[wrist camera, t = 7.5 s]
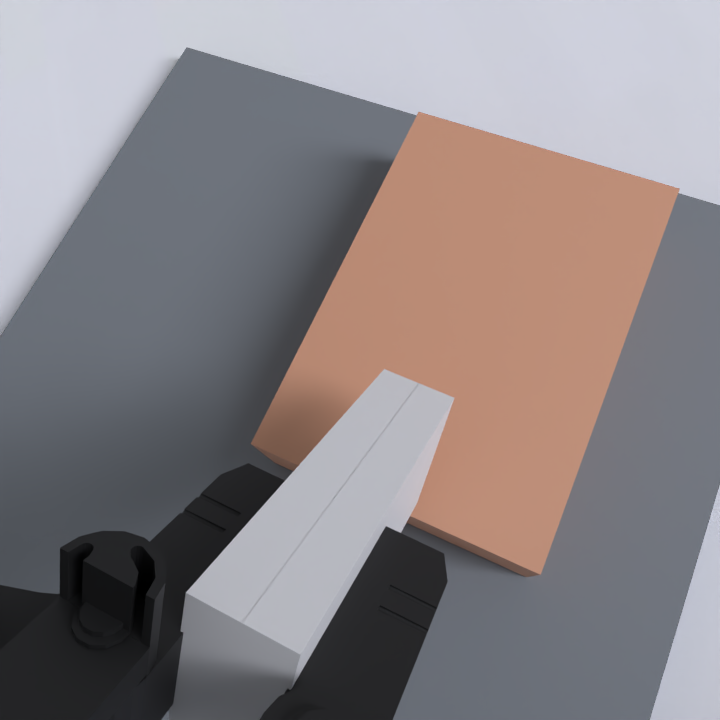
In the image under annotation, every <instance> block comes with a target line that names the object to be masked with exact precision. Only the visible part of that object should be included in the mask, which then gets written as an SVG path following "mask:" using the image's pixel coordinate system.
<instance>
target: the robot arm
mask: <svg viewBox="0 0 720 720" xmlns="http://www.w3.org/2000/svg"><path fill="white" fill-rule="evenodd" d="M453 400H454V397H451V396H449V395H446V394H444V393H442V392H439V391H437V390H434V389H432V388H429V387H427V386H424V385H422V384H420V383H417V382H415V381H412V380H410V379H407V378H405V377H403V376H400V375H398V374H395V373H393V372H390V371H388V370H385V369H384V370H383V371H382V372H381V373H380V374H379V375H378V377H377V378H376V379H375V380H374V381H373V382H372V383H371V384H370V386H369V387H368V388H367V389H366V390H365V391H364V392H363V393H362V395H361V396H360V397H359V398H358V399H357V400H356V401H355V402H354V404H353V405H352V406H351V407H350V408H349V409H348V410H347V412H346V413H345V414H344V415H343V416H342V417H341V418H340V419H339V421H338V422H337V423H336V424H335V425H334V426H333V427H332V428H331V430H330V431H329V432H328V433H327V434H326V435H325V436H324V437H323V439H322V440H321V441H320V442H319V443H318V444H317V445H316V446H315V448H314V449H313V450H312V451H311V452H310V453H309V454H308V456H307V457H306V458H305V459H304V460H303V461H302V462H301V463H300V465H299V466H298V467H297V468H296V469H295V470H294V471H293V472H292V474H291V475H290V476H289V477H288V478H287V479H286V480H283V479H281V478H279V477H277V476H274V475H272V474H270V473H268V472H266V471H264V470H262V469H260V468H258V467H255V466H253V465H251V464H249V463H248V464H245V465H243V466H240V467H238V468H235V469H233V470H230V471H228V472H225V473H223V474H221V475H220V476H219V477H217V478H216V479H215V480H214V481H213V482H212V483H211V484H210V485H209V486H208V487H207V488H206V489H205V490H204V491H203V492H202V493H201V495H200V496H199V498H198V497H196V498H195V499H194V500H193V501H192V502H191V503H190V504H189V505H188V506H187V507H186V508H185V509H184V511H183V513H179V514H178V515H177V516H176V517H175V518H174V519H173V520H172V521H171V522H170V523H169V524H168V525H167V526H166V527H165V528H164V529H162V530H161V531H160V532H159V533H158V534H157V535H156V536H155V537H154V538H153V539H152V540H151V541H150V542H149V541H148V540H147V539H146V538H144V537H141V536H138V535H135V534H132V533H129V532H126V531H99V532H95V533H91V534H87V535H83V536H79V537H78V538H76V539H74V540H72V541H71V542H69V543H67V544H65V545H64V546H62V547H60V594H52V593H41V592H35V591H30V590H25V589H19V588H14V587H9V586H4V585H0V720H161V719H162V718H163V717H164V715H165V714H166V713H167V711H168V710H169V716H168V720H393V718H394V715H395V713H396V710H397V708H398V705H399V703H400V700H401V698H402V695H403V693H404V690H405V688H406V685H407V683H408V680H409V678H410V675H411V673H412V670H413V668H414V665H415V663H416V660H417V658H418V655H419V652H420V650H421V647H422V645H423V642H424V640H425V637H426V635H427V632H428V630H429V627H430V625H431V622H432V620H433V617H434V615H435V612H436V610H437V607H438V605H439V602H440V600H441V597H442V595H443V592H444V590H445V587H446V585H447V582H448V580H447V572H446V564H445V556H444V553H442V552H440V551H438V550H436V549H434V548H432V547H429V546H427V545H425V544H423V543H421V542H419V541H417V540H415V539H412V538H410V537H408V536H406V535H404V534H402V533H401V532H402V530H403V528H404V526H405V524H406V523H407V521H408V519H409V517H410V515H411V513H412V511H413V510H414V508H415V506H416V504H417V502H418V499H419V496H420V493H421V491H422V488H423V485H424V482H425V479H426V477H427V474H428V471H429V468H430V465H431V462H432V460H433V457H434V454H435V451H436V448H437V446H438V443H439V440H440V437H441V434H442V431H443V429H444V426H445V423H446V420H447V417H448V415H449V412H450V409H451V406H452V403H453Z"/></svg>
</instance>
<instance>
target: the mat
mask: <svg viewBox="0 0 720 720" xmlns="http://www.w3.org/2000/svg"><path fill="white" fill-rule="evenodd" d="M415 118H416V115H413V114H409V113H406V112H403V111H399V110H396V109H393V108H389V107H386V106H383V105H379V104H376V103H372V102H369V101H366V100H362V99H359V98H356V97H352V96H349V95H345V94H342V93H339V92H335V91H332V90H329V89H325V88H322V87H318V86H315V85H312V84H308V83H305V82H302V81H298V80H295V79H292V78H288V77H285V76H281V75H278V74H275V73H271V72H268V71H265V70H261V69H258V68H254V67H251V66H248V65H244V64H241V63H238V62H234V61H231V60H227V59H224V58H221V57H217V56H214V55H211V54H207V53H204V52H200V51H197V50H194V49H190V48H186V49H185V51H184V52H183V54H182V56H181V57H180V59H179V60H178V62H177V63H176V65H175V66H174V68H173V69H172V71H171V73H170V74H169V76H168V77H167V79H166V80H165V82H164V83H163V85H162V87H161V88H160V90H159V91H158V93H157V94H156V96H155V97H154V99H153V101H152V102H151V104H150V105H149V107H148V108H147V110H146V111H145V113H144V115H143V116H142V118H141V119H140V121H139V122H138V124H137V125H136V127H135V128H134V130H133V132H132V133H131V135H130V136H129V138H128V139H127V141H126V142H125V144H124V146H123V147H122V149H121V150H120V152H119V153H118V155H117V156H116V158H115V160H114V161H113V163H112V164H111V166H110V167H109V169H108V170H107V172H106V174H105V175H104V177H103V178H102V180H101V181H100V183H99V184H98V186H97V187H96V189H95V191H94V192H93V194H92V195H91V197H90V198H89V200H88V201H87V203H86V205H85V206H84V208H83V209H82V211H81V212H80V214H79V215H78V217H77V219H76V220H75V222H74V223H73V225H72V226H71V228H70V229H69V231H68V233H67V234H66V236H65V237H64V239H63V240H62V242H61V243H60V245H59V247H58V248H57V250H56V251H55V253H54V254H53V256H52V257H51V259H50V260H49V262H48V264H47V265H46V267H45V268H44V270H43V271H42V273H41V274H40V276H39V278H38V279H37V281H36V282H35V284H34V285H33V287H32V288H31V290H30V292H29V293H28V295H27V296H26V298H25V299H24V301H23V302H22V304H21V306H20V307H19V309H18V310H17V312H16V313H15V315H14V316H13V318H12V319H11V321H10V323H9V324H8V326H7V327H6V329H5V330H4V332H3V333H2V335H1V337H0V585H4V586H9V587H14V588H19V589H25V590H30V591H35V592H41V593H52V594H60V547H62V546H64V545H65V544H67V543H69V542H71V541H72V540H74V539H76V538H78V537H79V536H83V535H87V534H91V533H95V532H99V531H126V532H129V533H132V534H135V535H138V536H141V537H144V538H146V539H147V540H148V541H149V542H150V541H151V540H152V539H153V538H154V537H155V536H156V535H157V534H158V533H159V532H160V531H161V530H162V529H164V528H165V527H166V526H167V525H168V524H169V523H170V522H171V521H172V520H173V519H174V518H175V517H176V516H177V515H178V514H179V513H183V511H184V509H185V508H186V507H187V506H188V505H189V504H190V503H191V502H192V501H193V500H194V499H195V498H196V497H198V498H199V496H200V495H201V493H202V492H203V491H204V490H205V489H206V488H207V487H208V486H209V485H210V484H211V483H212V482H213V481H214V480H215V479H216V478H217V477H219V476H220V475H221V474H223V473H225V472H228V471H230V470H233V469H235V468H238V467H240V466H243V465H245V464H248V463H249V464H251V465H253V466H255V467H258V468H260V469H262V470H264V471H266V472H268V473H270V474H272V475H274V476H277V477H279V478H281V479H283V480H286V479H287V478H288V477H289V476H290V475H291V474H292V472H293V471H292V470H289V469H287V468H285V467H283V466H281V465H279V464H276V463H274V462H273V461H272V460H271V459H269V458H268V457H267V456H265V455H264V454H263V453H262V452H260V451H259V450H258V449H257V448H255V447H254V446H253V445H252V444H251V442H252V440H253V438H254V436H255V434H256V432H257V430H258V428H259V427H260V425H261V423H262V421H263V419H264V417H265V415H266V413H267V411H268V409H269V407H270V405H271V403H272V401H273V399H274V397H275V395H276V393H277V391H278V389H279V387H280V385H281V383H282V381H283V379H284V377H285V375H286V373H287V371H288V369H289V367H290V365H291V363H292V361H293V359H294V357H295V355H296V353H297V351H298V349H299V347H300V345H301V343H302V342H303V340H304V338H305V336H306V334H307V332H308V330H309V328H310V326H311V324H312V322H313V320H314V318H315V316H316V314H317V312H318V310H319V308H320V306H321V304H322V302H323V300H324V298H325V296H326V294H327V292H328V290H329V288H330V286H331V284H332V282H333V280H334V278H335V276H336V274H337V272H338V270H339V268H340V266H341V264H342V262H343V260H344V259H345V257H346V255H347V253H348V251H349V249H350V247H351V245H352V243H353V241H354V239H355V237H356V235H357V233H358V231H359V229H360V227H361V225H362V223H363V221H364V219H365V217H366V215H367V213H368V211H369V209H370V207H371V205H372V203H373V201H374V199H375V197H376V195H377V193H378V191H379V189H380V187H381V185H382V183H383V181H384V179H385V177H386V175H387V174H388V172H389V170H390V168H391V166H392V164H393V162H394V160H395V158H396V156H397V154H398V152H399V150H400V148H401V146H402V144H403V142H404V140H405V138H406V136H407V134H408V132H409V130H410V128H411V126H412V124H413V122H414V120H415ZM719 485H720V205H716V204H713V203H709V202H706V201H703V200H699V199H696V198H693V197H689V196H686V195H682V194H679V193H678V195H677V198H676V200H675V203H674V206H673V209H672V212H671V214H670V217H669V220H668V223H667V225H666V228H665V231H664V234H663V237H662V239H661V242H660V245H659V248H658V250H657V253H656V256H655V259H654V262H653V264H652V267H651V270H650V273H649V275H648V278H647V281H646V284H645V287H644V289H643V292H642V295H641V298H640V300H639V303H638V306H637V309H636V311H635V314H634V317H633V320H632V323H631V325H630V328H629V331H628V334H627V336H626V339H625V342H624V345H623V348H622V350H621V353H620V356H619V359H618V361H617V364H616V367H615V370H614V373H613V375H612V378H611V381H610V384H609V386H608V389H607V392H606V395H605V398H604V400H603V403H602V406H601V409H600V411H599V414H598V417H597V420H596V423H595V425H594V428H593V431H592V434H591V436H590V439H589V442H588V445H587V448H586V450H585V453H584V456H583V459H582V461H581V464H580V467H579V470H578V473H577V475H576V478H575V481H574V484H573V486H572V489H571V492H570V495H569V498H568V500H567V503H566V506H565V509H564V511H563V514H562V517H561V520H560V523H559V525H558V528H557V531H556V534H555V536H554V539H553V542H552V545H551V548H550V550H549V553H548V556H547V559H546V561H545V564H544V567H543V570H542V573H541V575H537V576H531V577H525V576H522V575H520V574H518V573H516V572H514V571H511V570H509V569H507V568H505V567H503V566H500V565H498V564H496V563H494V562H492V561H489V560H487V559H485V558H483V557H481V556H478V555H476V554H474V553H472V552H470V551H467V550H465V549H463V548H461V547H459V546H456V545H454V544H452V543H450V542H448V541H446V540H443V539H441V538H439V537H437V536H435V535H432V534H430V533H428V532H426V531H424V530H421V529H419V528H417V527H415V526H413V525H410V524H408V523H406V524H405V526H404V528H403V530H402V532H401V533H402V534H404V535H406V536H408V537H410V538H412V539H415V540H417V541H419V542H421V543H423V544H425V545H427V546H429V547H432V548H434V549H436V550H438V551H440V552H442V553H444V556H445V564H446V572H447V580H448V582H447V585H446V587H445V590H444V592H443V595H442V597H441V600H440V602H439V605H438V607H437V610H436V612H435V615H434V617H433V620H432V622H431V625H430V627H429V630H428V632H427V635H426V637H425V640H424V642H423V645H422V647H421V650H420V652H419V655H418V658H417V660H416V663H415V665H414V668H413V670H412V673H411V675H410V678H409V680H408V683H407V685H406V688H405V690H404V693H403V695H402V698H401V700H400V703H399V705H398V708H397V710H396V713H395V715H394V718H393V720H650V717H651V713H652V710H653V707H654V703H655V700H656V696H657V693H658V690H659V686H660V683H661V680H662V676H663V673H664V670H665V666H666V663H667V660H668V656H669V653H670V649H671V646H672V643H673V639H674V636H675V633H676V629H677V626H678V623H679V619H680V616H681V613H682V609H683V606H684V602H685V599H686V596H687V592H688V589H689V586H690V582H691V579H692V576H693V572H694V569H695V566H696V562H697V559H698V555H699V552H700V549H701V545H702V542H703V539H704V535H705V532H706V529H707V525H708V522H709V519H710V515H711V512H712V508H713V505H714V502H715V498H716V495H717V492H718V488H719ZM168 716H169V710H168V711H167V713H166V714H165V715H164V717H163V718H162V719H161V720H168Z"/></svg>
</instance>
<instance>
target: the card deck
mask: <svg viewBox="0 0 720 720" xmlns="http://www.w3.org/2000/svg"><path fill="white" fill-rule="evenodd" d="M678 192H679V188H675V187H672V186H668V185H665V184H662V183H658V182H655V181H652V180H648V179H645V178H641V177H638V176H635V175H631V174H628V173H624V172H621V171H618V170H614V169H611V168H607V167H604V166H601V165H597V164H594V163H591V162H587V161H584V160H580V159H577V158H574V157H570V156H567V155H563V154H560V153H557V152H553V151H550V150H546V149H543V148H540V147H536V146H533V145H529V144H526V143H523V142H519V141H516V140H513V139H509V138H506V137H502V136H499V135H496V134H492V133H489V132H485V131H482V130H479V129H475V128H472V127H468V126H465V125H462V124H458V123H455V122H452V121H448V120H445V119H441V118H438V117H435V116H431V115H428V114H424V113H421V112H418V114H417V116H416V118H415V120H414V122H413V124H412V126H411V128H410V130H409V132H408V134H407V136H406V138H405V140H404V142H403V144H402V146H401V148H400V150H399V152H398V154H397V156H396V158H395V160H394V162H393V164H392V166H391V168H390V170H389V172H388V174H387V175H386V177H385V179H384V181H383V183H382V185H381V187H380V189H379V191H378V193H377V195H376V197H375V199H374V201H373V203H372V205H371V207H370V209H369V211H368V213H367V215H366V217H365V219H364V221H363V223H362V225H361V227H360V229H359V231H358V233H357V235H356V237H355V239H354V241H353V243H352V245H351V247H350V249H349V251H348V253H347V255H346V257H345V259H344V260H343V262H342V264H341V266H340V268H339V270H338V272H337V274H336V276H335V278H334V280H333V282H332V284H331V286H330V288H329V290H328V292H327V294H326V296H325V298H324V300H323V302H322V304H321V306H320V308H319V310H318V312H317V314H316V316H315V318H314V320H313V322H312V324H311V326H310V328H309V330H308V332H307V334H306V336H305V338H304V340H303V342H302V343H301V345H300V347H299V349H298V351H297V353H296V355H295V357H294V359H293V361H292V363H291V365H290V367H289V369H288V371H287V373H286V375H285V377H284V379H283V381H282V383H281V385H280V387H279V389H278V391H277V393H276V395H275V397H274V399H273V401H272V403H271V405H270V407H269V409H268V411H267V413H266V415H265V417H264V419H263V421H262V423H261V425H260V427H259V428H258V430H257V432H256V434H255V436H254V438H253V440H252V442H251V444H252V445H253V446H254V447H255V448H257V449H258V450H259V451H260V452H262V453H263V454H264V455H265V456H267V457H268V458H269V459H271V460H272V461H273V462H274V463H276V464H279V465H281V466H283V467H285V468H287V469H289V470H292V471H294V470H295V469H296V468H297V467H298V466H299V465H300V463H301V462H302V461H303V460H304V459H305V458H306V457H307V456H308V454H309V453H310V452H311V451H312V450H313V449H314V448H315V446H316V445H317V444H318V443H319V442H320V441H321V440H322V439H323V437H324V436H325V435H326V434H327V433H328V432H329V431H330V430H331V428H332V427H333V426H334V425H335V424H336V423H337V422H338V421H339V419H340V418H341V417H342V416H343V415H344V414H345V413H346V412H347V410H348V409H349V408H350V407H351V406H352V405H353V404H354V402H355V401H356V400H357V399H358V398H359V397H360V396H361V395H362V393H363V392H364V391H365V390H366V389H367V388H368V387H369V386H370V384H371V383H372V382H373V381H374V380H375V379H376V378H377V377H378V375H379V374H380V373H381V372H382V371H383V370H384V369H385V370H388V371H390V372H393V373H395V374H398V375H400V376H403V377H405V378H407V379H410V380H412V381H415V382H417V383H420V384H422V385H424V386H427V387H429V388H432V389H434V390H437V391H439V392H442V393H444V394H446V395H449V396H451V397H454V400H453V403H452V406H451V409H450V412H449V415H448V417H447V420H446V423H445V426H444V429H443V431H442V434H441V437H440V440H439V443H438V446H437V448H436V451H435V454H434V457H433V460H432V462H431V465H430V468H429V471H428V474H427V477H426V479H425V482H424V485H423V488H422V491H421V493H420V496H419V499H418V502H417V504H416V506H415V508H414V510H413V511H412V513H411V515H410V517H409V519H408V521H407V523H408V524H410V525H413V526H415V527H417V528H419V529H421V530H424V531H426V532H428V533H430V534H432V535H435V536H437V537H439V538H441V539H443V540H446V541H448V542H450V543H452V544H454V545H456V546H459V547H461V548H463V549H465V550H467V551H470V552H472V553H474V554H476V555H478V556H481V557H483V558H485V559H487V560H489V561H492V562H494V563H496V564H498V565H500V566H503V567H505V568H507V569H509V570H511V571H514V572H516V573H518V574H520V575H522V576H525V577H531V576H537V575H541V573H542V570H543V567H544V564H545V561H546V559H547V556H548V553H549V550H550V548H551V545H552V542H553V539H554V536H555V534H556V531H557V528H558V525H559V523H560V520H561V517H562V514H563V511H564V509H565V506H566V503H567V500H568V498H569V495H570V492H571V489H572V486H573V484H574V481H575V478H576V475H577V473H578V470H579V467H580V464H581V461H582V459H583V456H584V453H585V450H586V448H587V445H588V442H589V439H590V436H591V434H592V431H593V428H594V425H595V423H596V420H597V417H598V414H599V411H600V409H601V406H602V403H603V400H604V398H605V395H606V392H607V389H608V386H609V384H610V381H611V378H612V375H613V373H614V370H615V367H616V364H617V361H618V359H619V356H620V353H621V350H622V348H623V345H624V342H625V339H626V336H627V334H628V331H629V328H630V325H631V323H632V320H633V317H634V314H635V311H636V309H637V306H638V303H639V300H640V298H641V295H642V292H643V289H644V287H645V284H646V281H647V278H648V275H649V273H650V270H651V267H652V264H653V262H654V259H655V256H656V253H657V250H658V248H659V245H660V242H661V239H662V237H663V234H664V231H665V228H666V225H667V223H668V220H669V217H670V214H671V212H672V209H673V206H674V203H675V200H676V198H677V195H678Z"/></svg>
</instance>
